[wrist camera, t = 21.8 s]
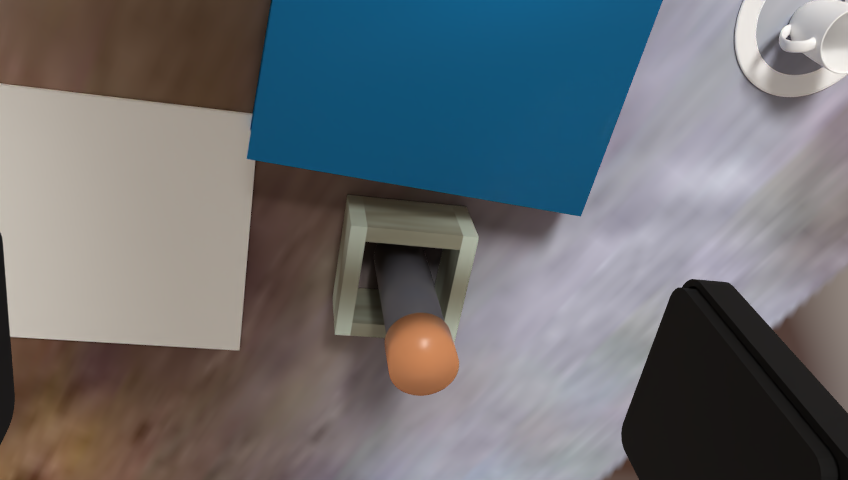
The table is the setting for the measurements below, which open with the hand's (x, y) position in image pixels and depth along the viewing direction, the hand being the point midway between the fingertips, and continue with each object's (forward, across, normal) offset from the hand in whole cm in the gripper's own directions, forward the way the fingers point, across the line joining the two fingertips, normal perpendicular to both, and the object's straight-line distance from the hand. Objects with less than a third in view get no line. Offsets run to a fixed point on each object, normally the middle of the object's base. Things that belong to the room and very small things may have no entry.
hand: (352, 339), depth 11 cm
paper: (+28, +9, +14) cm, 33 cm away
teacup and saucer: (+29, -27, 0) cm, 40 cm away
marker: (+28, -6, +14) cm, 32 cm away
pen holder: (+28, -6, +14) cm, 32 cm away
